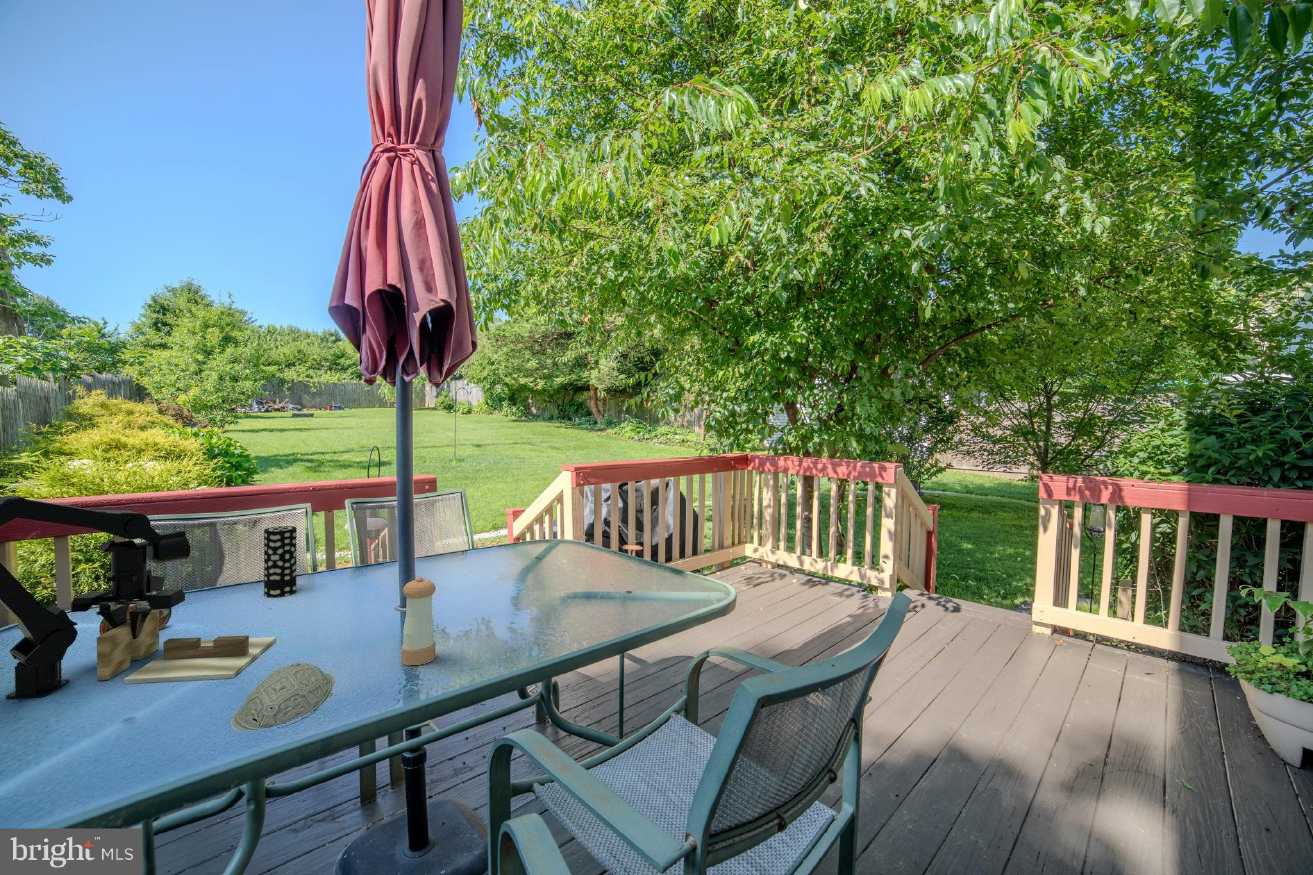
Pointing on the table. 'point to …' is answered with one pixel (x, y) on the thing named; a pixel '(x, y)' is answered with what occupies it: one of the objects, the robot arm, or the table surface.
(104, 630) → the tin
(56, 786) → the table surface
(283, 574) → the white-spotted black cylinder
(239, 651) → the wooden base with bar
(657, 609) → the table surface
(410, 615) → the pepper shaker
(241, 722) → the turtle shell
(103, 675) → the oak plate
